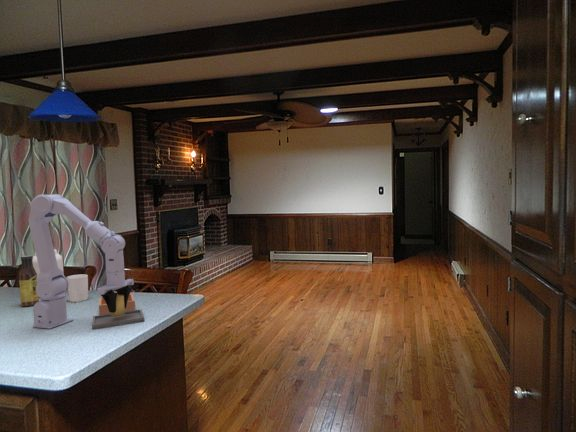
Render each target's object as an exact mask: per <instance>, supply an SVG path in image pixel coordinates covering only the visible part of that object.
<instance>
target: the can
mask: <svg viewBox="0 0 576 432" xmlns="http://www.w3.org/2000/svg"><path fill="white" fill-rule="evenodd" d="M54 251H55V256H56V260H57V265H58V268H59V269H61V270H62V271H63V273H64V260H63V256H62V255H61V254H60V253H58V250H57V248H54ZM32 262H33V267H34V269H35V271H36V273H37V277H38V275H39V273H40V269H39V265H38V260H37V256H36V252H34V255H33V259H32ZM39 299H41V298H40V297H39Z"/></svg>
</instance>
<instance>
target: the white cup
mask: <svg viewBox="0 0 576 432" xmlns="http://www.w3.org/2000/svg"><path fill="white" fill-rule="evenodd" d="M66 279H67V280H68V283H69V286H68V289H67V292H68V296H69V297H68V298H69V302H72V303H77V302H83V301H87V300H89V299H88V298H89V294H88V293H89V275H88V274H85V273H84V274H81V273H80V274H73V275H68V276H66Z"/></svg>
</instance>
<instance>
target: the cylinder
mask: <svg viewBox="0 0 576 432" xmlns="http://www.w3.org/2000/svg"><path fill="white" fill-rule="evenodd" d="M124 314H125V307H124V295H122V294H119V295H118V294H117V298H116V312H115V313H111V316H112V317H118V316H122V315H124Z"/></svg>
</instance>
